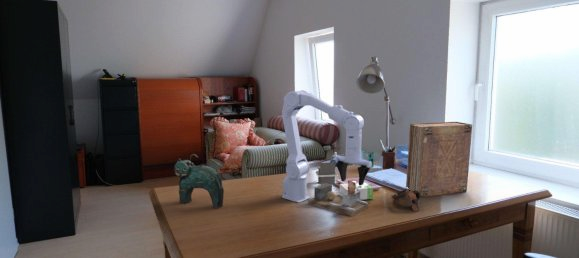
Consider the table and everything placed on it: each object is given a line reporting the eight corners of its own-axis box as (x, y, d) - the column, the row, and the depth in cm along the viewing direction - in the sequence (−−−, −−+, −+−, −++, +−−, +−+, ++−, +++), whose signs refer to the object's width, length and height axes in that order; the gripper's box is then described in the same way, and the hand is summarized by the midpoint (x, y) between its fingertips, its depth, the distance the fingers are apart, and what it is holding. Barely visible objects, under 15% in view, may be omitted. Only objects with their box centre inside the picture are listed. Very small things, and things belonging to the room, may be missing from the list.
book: (419, 197, 160) (423, 126, 155) (405, 190, 168) (409, 123, 164) (467, 191, 168) (472, 124, 163) (451, 185, 177) (456, 121, 172)
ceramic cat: (174, 203, 150) (172, 153, 147) (184, 198, 156) (182, 150, 153) (218, 210, 143) (217, 158, 140) (226, 204, 149) (226, 154, 146)
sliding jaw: (342, 206, 143) (343, 182, 142) (353, 201, 149) (354, 178, 148) (349, 208, 141) (350, 184, 140) (359, 203, 147) (360, 179, 146)
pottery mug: (411, 215, 141) (400, 195, 142) (394, 218, 149) (384, 199, 150) (431, 201, 147) (420, 182, 148) (413, 205, 155) (404, 186, 156)
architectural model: (310, 190, 168) (310, 166, 167) (302, 180, 185) (303, 157, 183) (350, 189, 171) (351, 165, 170) (339, 178, 188) (340, 156, 186)
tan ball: (324, 200, 151) (325, 191, 150) (329, 197, 153) (330, 189, 153) (332, 202, 149) (332, 193, 148) (337, 199, 151) (337, 191, 151)
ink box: (373, 187, 156) (346, 189, 153) (373, 199, 156) (346, 201, 154) (365, 181, 164) (339, 183, 161) (364, 192, 165) (338, 194, 162)
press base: (308, 203, 151) (308, 187, 150) (325, 196, 160) (325, 181, 159) (352, 216, 138) (352, 199, 137) (368, 207, 148) (368, 191, 146)
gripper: (376, 148, 140) (374, 184, 142) (342, 143, 149) (341, 176, 152) (366, 151, 135) (365, 188, 137) (332, 146, 144) (331, 180, 146)
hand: (352, 182), depth 144 cm, fingers open, 7 cm apart
